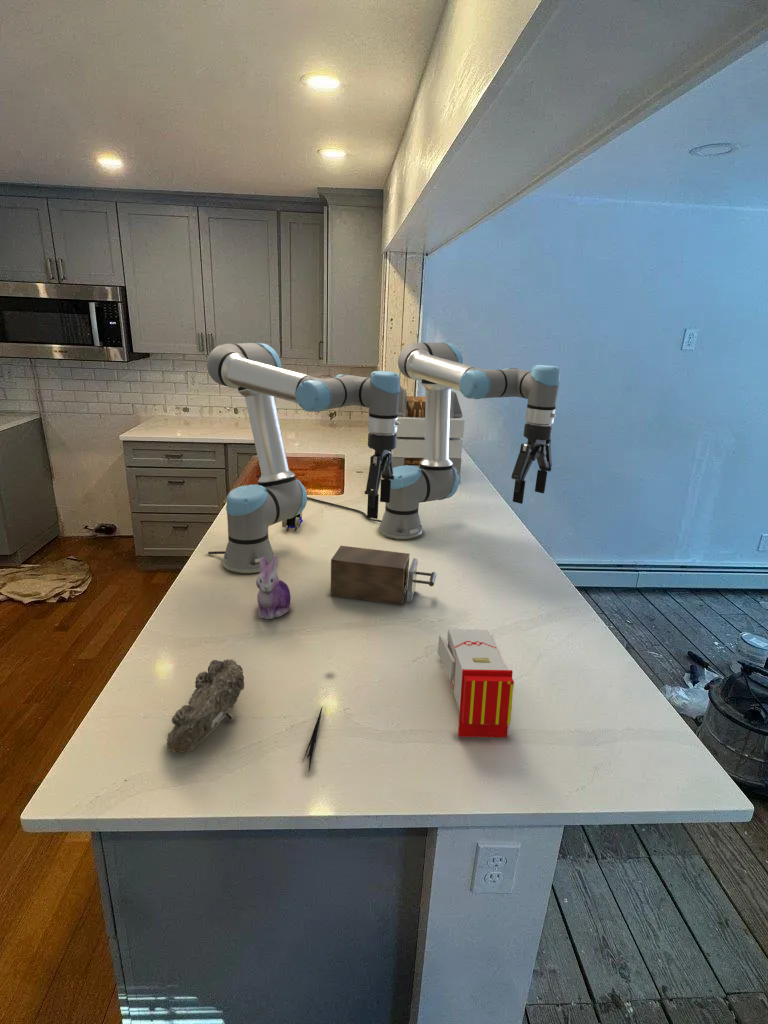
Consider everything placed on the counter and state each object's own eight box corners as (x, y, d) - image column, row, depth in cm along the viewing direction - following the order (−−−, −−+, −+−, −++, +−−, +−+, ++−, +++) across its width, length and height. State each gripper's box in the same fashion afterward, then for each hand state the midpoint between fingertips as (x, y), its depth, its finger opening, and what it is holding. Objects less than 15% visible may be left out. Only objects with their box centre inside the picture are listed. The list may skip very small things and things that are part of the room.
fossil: (192, 660, 117) (244, 628, 112) (224, 691, 120) (276, 661, 115) (142, 746, 98) (202, 712, 93) (182, 779, 101) (242, 748, 96)
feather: (331, 679, 122) (336, 673, 122) (307, 777, 96) (313, 769, 95) (324, 675, 122) (329, 669, 121) (298, 772, 95) (304, 764, 95)
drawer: (435, 590, 159) (437, 561, 156) (431, 604, 151) (434, 574, 148) (351, 579, 163) (352, 550, 160) (343, 593, 155) (344, 563, 152)
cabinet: (407, 588, 161) (409, 553, 158) (401, 605, 152) (403, 568, 148) (340, 579, 165) (340, 545, 161) (330, 595, 155) (331, 559, 152)
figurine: (261, 624, 140) (259, 569, 134) (250, 605, 148) (248, 552, 143) (298, 616, 144) (297, 562, 139) (285, 598, 152) (284, 547, 147)
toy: (488, 613, 130) (523, 677, 101) (484, 667, 133) (517, 744, 104) (435, 612, 130) (455, 676, 101) (432, 666, 133) (451, 743, 103)
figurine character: (300, 537, 196) (305, 517, 210) (300, 518, 193) (305, 499, 206) (281, 536, 196) (287, 517, 209) (280, 517, 193) (286, 498, 206)
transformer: (382, 463, 289) (386, 382, 275) (445, 464, 293) (451, 384, 279) (390, 482, 257) (394, 392, 243) (460, 483, 261) (468, 394, 247)
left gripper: (385, 444, 135) (380, 527, 142) (406, 425, 158) (402, 497, 165) (354, 441, 137) (352, 523, 144) (380, 422, 159) (377, 494, 167)
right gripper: (530, 431, 144) (520, 510, 151) (570, 420, 162) (559, 491, 169) (504, 427, 148) (495, 503, 156) (546, 416, 167) (536, 485, 174)
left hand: (378, 509), depth 154 cm, fingers open, 13 cm apart
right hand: (528, 497), depth 163 cm, fingers open, 13 cm apart
